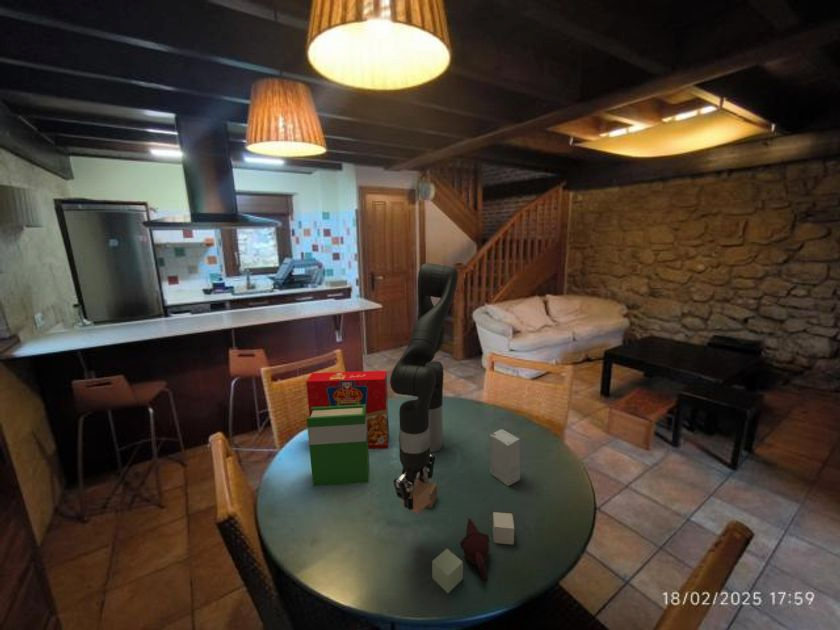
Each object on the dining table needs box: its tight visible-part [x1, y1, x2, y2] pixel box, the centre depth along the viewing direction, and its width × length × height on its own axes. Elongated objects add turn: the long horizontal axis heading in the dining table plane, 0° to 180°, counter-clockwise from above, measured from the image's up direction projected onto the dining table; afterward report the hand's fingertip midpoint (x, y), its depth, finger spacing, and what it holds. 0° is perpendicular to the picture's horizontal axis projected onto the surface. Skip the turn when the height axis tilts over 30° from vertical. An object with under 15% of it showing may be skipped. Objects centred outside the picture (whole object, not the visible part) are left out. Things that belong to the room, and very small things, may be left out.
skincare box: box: [489, 428, 521, 487], centre depth 117 cm, size 8×6×15 cm
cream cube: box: [492, 511, 515, 545], centre depth 95 cm, size 5×5×5 cm
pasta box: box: [305, 370, 390, 450], centre depth 136 cm, size 28×8×28 cm, turn 92°
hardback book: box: [306, 404, 370, 487], centre depth 117 cm, size 18×7×24 cm, turn 95°
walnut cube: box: [425, 481, 438, 510], centre depth 108 cm, size 5×5×5 cm
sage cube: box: [431, 548, 464, 594], centre depth 84 cm, size 5×5×5 cm
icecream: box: [459, 517, 490, 581], centre depth 90 cm, size 7×7×15 cm
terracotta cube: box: [401, 480, 430, 515], centre depth 92 cm, size 5×5×5 cm
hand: (415, 501), depth 92 cm, fingers closed on terracotta cube, 5 cm apart
